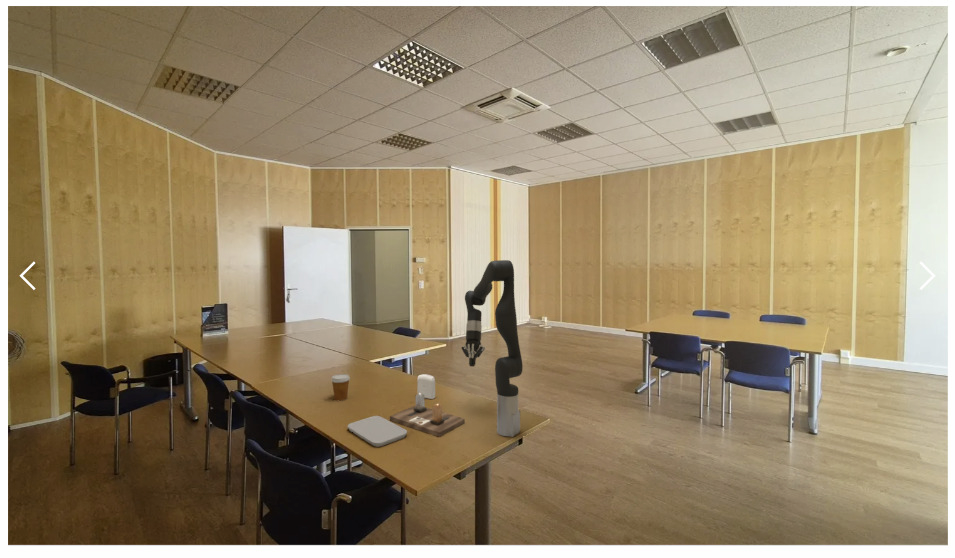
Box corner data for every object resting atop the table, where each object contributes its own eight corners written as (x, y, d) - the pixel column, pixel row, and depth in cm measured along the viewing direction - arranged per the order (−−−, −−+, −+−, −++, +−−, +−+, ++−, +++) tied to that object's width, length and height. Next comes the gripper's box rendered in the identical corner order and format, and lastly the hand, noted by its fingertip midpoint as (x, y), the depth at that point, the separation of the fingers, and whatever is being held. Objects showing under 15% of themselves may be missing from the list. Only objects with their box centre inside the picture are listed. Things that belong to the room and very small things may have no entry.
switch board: (464, 422, 186) (464, 417, 186) (439, 437, 172) (439, 431, 171) (416, 408, 203) (416, 404, 203) (389, 420, 189) (389, 415, 189)
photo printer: (416, 396, 220) (416, 374, 219) (420, 394, 224) (420, 372, 223) (432, 400, 215) (432, 377, 215) (436, 397, 219) (436, 375, 219)
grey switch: (426, 409, 196) (426, 392, 195) (420, 412, 192) (420, 395, 192) (419, 407, 198) (419, 390, 198) (413, 410, 195) (413, 393, 194)
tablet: (377, 419, 191) (377, 414, 191) (410, 437, 173) (410, 432, 172) (344, 430, 179) (344, 425, 179) (376, 450, 161) (376, 444, 161)
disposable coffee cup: (353, 395, 222) (352, 374, 221) (345, 401, 212) (345, 379, 211) (336, 395, 222) (335, 373, 222) (328, 401, 213) (327, 378, 212)
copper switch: (444, 421, 182) (444, 403, 181) (437, 425, 178) (437, 406, 178) (436, 419, 184) (436, 401, 184) (430, 422, 181) (430, 404, 180)
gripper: (458, 330, 201) (456, 365, 197) (480, 329, 194) (478, 366, 189) (467, 332, 207) (465, 366, 203) (489, 331, 200) (487, 367, 195)
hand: (472, 366), depth 196 cm, fingers closed
